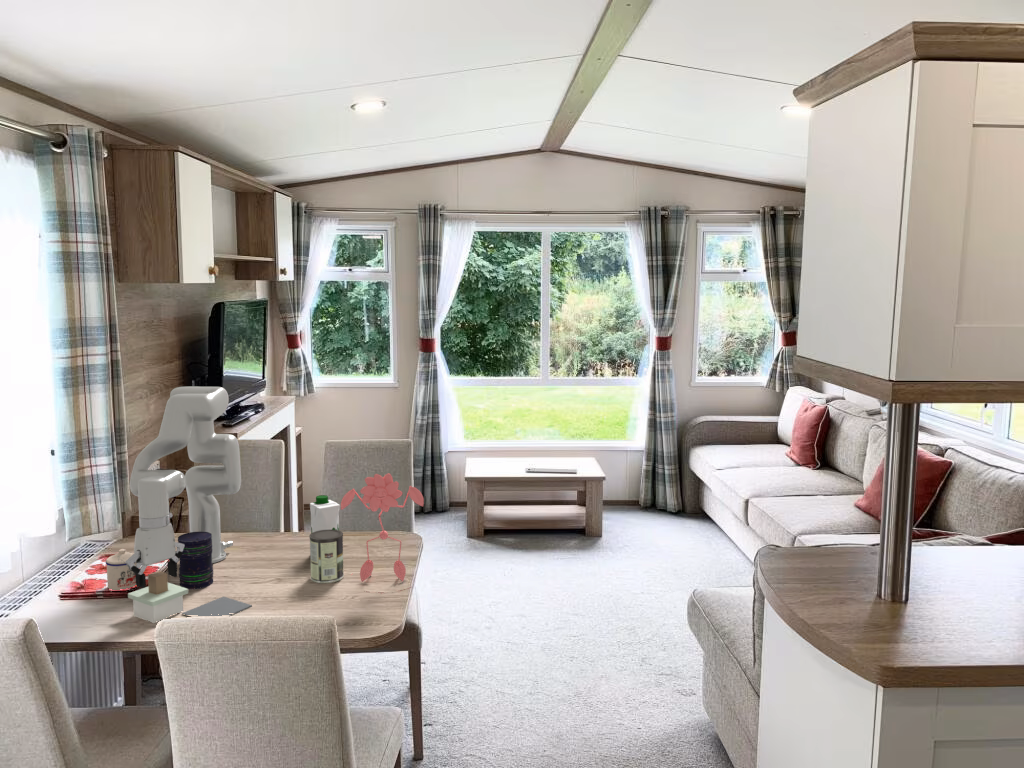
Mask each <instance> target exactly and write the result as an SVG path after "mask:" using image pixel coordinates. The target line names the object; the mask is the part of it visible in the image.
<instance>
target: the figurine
mask: <svg viewBox="0 0 1024 768" xmlns="http://www.w3.org/2000/svg"><path fill="white" fill-rule="evenodd" d="M364 482H365V484H366V485H365V486H363V487H362V488H361V489H360V490H359V491H360V494H362V495H363V496H362V497H361V496H360V495H359V494H358V492H357V491H356V490H355V488H352V489H350V490H348V492H346V493H345V494H344V495H343V497H342V499H341V502H340V510H344V509H345V508H347V507H348V506H349V505H350V504H351V503H352V502H353V501H354V498H355V496H356V497H357V498H358V499H359V501H360V502H362V504H363V505H364V506H365V508H366V509H367V510H370V511H372V512H377V511H378V509H380V510H381V511H380V512H379V514H378V520H379V523H380V527H381V530H382V531H380V532H379V535H378V536H377V537H374V538H371V539H368V540H366V553H367V554H366V555H367V560H365V562H363V564H362V565H361V567H360V571H359V577H360V582H361V583H362V582H364V581H366V580H367V579H368V578H369V577H371V575H373V574H372V573H373V570H374V561H373V560H371V559H370V556H369V543H368V542H371V541H374V540H377V539H379V538H380V539H381V540H387V539H391V540H394V541H397V542H399V552H398V559H397V560H395V561H394V563H393V572H394V574H395V576H396V577H397V578H398V579H399V580H400V581H401V582H404V580H405V576H406V571H407V570H406V566H405V564H404V563H403V562H402V560H401V549H402V540H400V539H397V538H395V537H390V536H389V532H388V531H386V530H385V529H384V526H383V522H382V518H381V516H382V514H383V512H385V513H388V512H389V510H390V508H401V509H402V508H403V509H404V507H405V506H406V503H407V500H408V497H409V498H410V499H411V500H412V502H414V503H415V504H416V505H418V506H421V507H424V504H425V503H424V501H425V500H424V496H423V494H422V491H420V490H419V489H418V488H417V487H415V486H413V485H409V487H408V491H407V494H406V497H405V499H404V502H403V505H399V502H398V500H397V499H399V498H400V497H402V496H403V491H402V490H400V489H399V486H400V485H399V484H400V483H399V482H398V481H396V480H395V481H394V478H393V476H392V474H391V473H386V474H384V476H382V475H381V474H378V473H375V474H374V475H373V476H367V477H364ZM367 504H368V505H369V506H368V505H367ZM353 574H354V573H352V574H350V576H352V575H353ZM411 588H412V586H410V587H407V588H403V589H400V590H399V591H400V592H403V591H405V590H409V589H411ZM365 591H366V593H369V591H367V590H365ZM377 592H378V591H377ZM379 593H381V594H385V593H384V592H380V591H379V592H378V593H377V594H379Z"/></svg>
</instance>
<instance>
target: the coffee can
mask: <svg viewBox="0 0 1024 768" xmlns="http://www.w3.org/2000/svg"><path fill="white" fill-rule="evenodd" d="M343 539H344V532H343V531H341V530H340V529H339V530H330V529H329V530H319V531H315V532H313V533H311V532H310V533H309V554H310V556H309V557H310V558H309V559H310V580H311V582H313V583H317V584H331V583H332V584H333V583H336V582H339V581H341V580H342V579H344V577H345V576H344V543H343V541H344V540H343Z"/></svg>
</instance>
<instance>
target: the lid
mask: <svg viewBox="0 0 1024 768" xmlns="http://www.w3.org/2000/svg"><path fill="white" fill-rule="evenodd" d="M147 583H148V586H146V587H145V588H139V589H137V590H135V591H134V590H133V591H132V592H128V593H127V598H128V599H131V600H132V601H133V600H136V601H138V602H141V603H144V604H147V605H150V606H152V607H153V606H155V605H158V604H161V603H163V602H166V601H169V600H172V599H174V598H177V597H180V596H182V595H183V596H184V595H187V594H189V590H188V589H187V588H184V587H181V586H180V585H178V584H174V583H172V582H169V581H168V572H165V571H162V570H157V571H155V572H152V573H148V574H147Z"/></svg>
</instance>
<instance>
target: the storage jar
mask: <svg viewBox="0 0 1024 768" xmlns="http://www.w3.org/2000/svg"><path fill="white" fill-rule="evenodd" d="M211 538H212V534H211V533H209V532H190V531H189V532H186V533H183V534H180V535H178V537H177V542H178V543H182V544H184V545H185V546H184V549H183V551H182V555H181V557H180V558H179V568H178V579H179V586H181V587H184V588H187V589H188V591H189V590H190V591H191V590H201V589H204V588H208V587H210V586H212V585H213V584H214V565H213V564H214V563H212V550H213V549H212V539H211Z"/></svg>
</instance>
